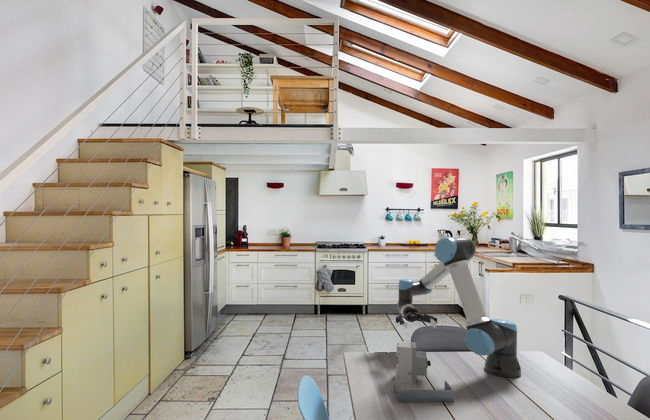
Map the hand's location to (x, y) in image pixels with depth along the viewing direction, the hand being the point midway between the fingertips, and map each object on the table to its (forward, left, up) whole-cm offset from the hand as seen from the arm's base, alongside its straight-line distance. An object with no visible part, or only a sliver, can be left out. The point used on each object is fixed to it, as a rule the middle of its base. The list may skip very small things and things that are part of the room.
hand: (420, 325), depth 174 cm
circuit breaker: (+7, +13, -20) cm, 25 cm away
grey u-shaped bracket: (+7, +27, -20) cm, 34 cm away
